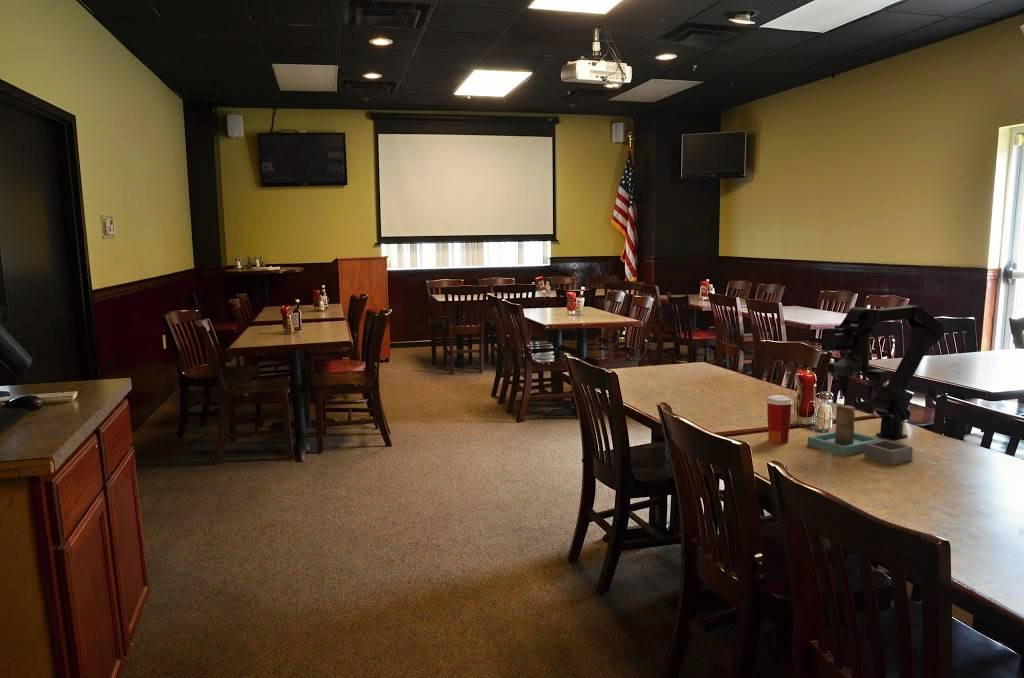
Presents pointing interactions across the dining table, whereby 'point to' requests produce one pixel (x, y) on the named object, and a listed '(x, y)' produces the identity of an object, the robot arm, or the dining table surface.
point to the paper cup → (778, 418)
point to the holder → (888, 452)
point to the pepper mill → (844, 425)
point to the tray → (828, 444)
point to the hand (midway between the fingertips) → (856, 399)
